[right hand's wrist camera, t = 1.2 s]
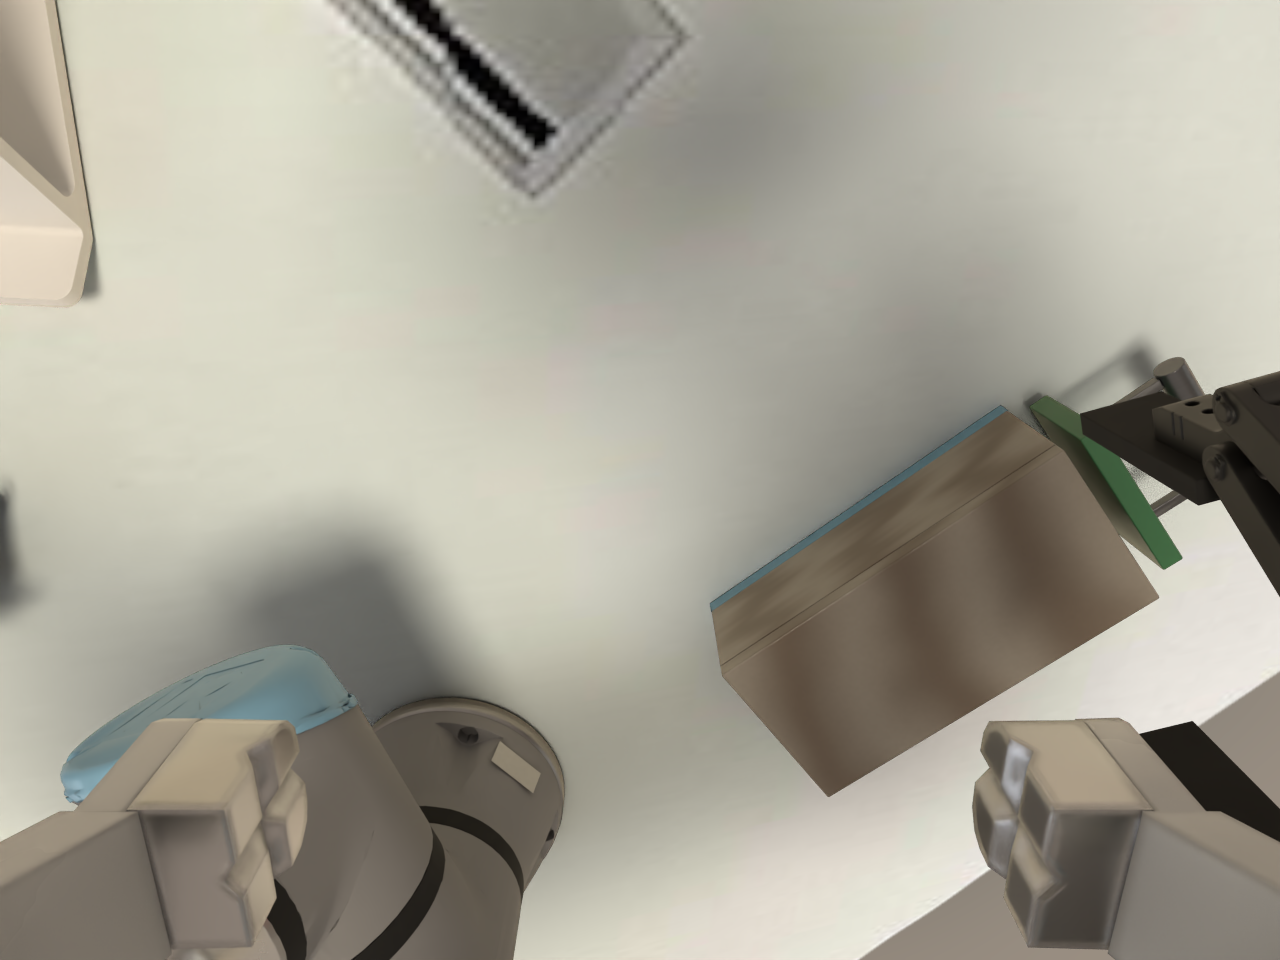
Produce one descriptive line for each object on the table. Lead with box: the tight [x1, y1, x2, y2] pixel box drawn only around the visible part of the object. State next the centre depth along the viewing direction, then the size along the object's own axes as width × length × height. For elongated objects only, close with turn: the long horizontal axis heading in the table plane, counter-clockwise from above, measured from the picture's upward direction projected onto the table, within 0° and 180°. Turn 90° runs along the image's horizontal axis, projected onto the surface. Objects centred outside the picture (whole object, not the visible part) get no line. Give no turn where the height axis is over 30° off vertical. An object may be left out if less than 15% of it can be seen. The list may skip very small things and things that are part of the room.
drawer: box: [1030, 357, 1205, 570], centre depth 51 cm, size 26×10×6 cm, turn 128°
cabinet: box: [710, 405, 1159, 797], centre depth 53 cm, size 22×11×8 cm, turn 128°
